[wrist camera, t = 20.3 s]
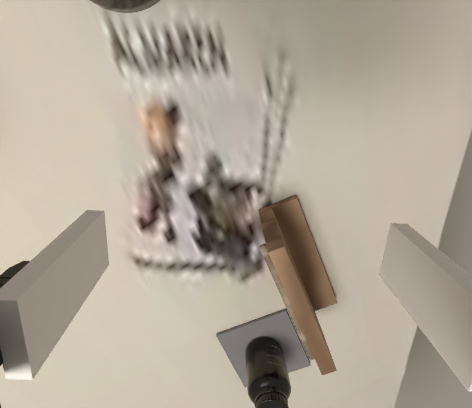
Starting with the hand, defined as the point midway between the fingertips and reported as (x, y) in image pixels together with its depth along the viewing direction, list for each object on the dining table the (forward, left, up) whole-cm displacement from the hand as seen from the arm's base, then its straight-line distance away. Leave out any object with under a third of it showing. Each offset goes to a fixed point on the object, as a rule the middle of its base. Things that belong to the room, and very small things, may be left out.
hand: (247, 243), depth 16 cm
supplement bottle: (+7, -38, -34) cm, 51 cm away
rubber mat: (+7, -38, -35) cm, 52 cm away
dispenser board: (+11, -19, -35) cm, 41 cm away
